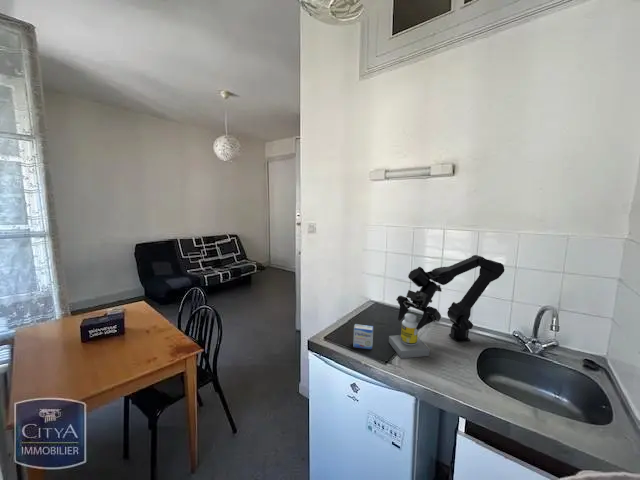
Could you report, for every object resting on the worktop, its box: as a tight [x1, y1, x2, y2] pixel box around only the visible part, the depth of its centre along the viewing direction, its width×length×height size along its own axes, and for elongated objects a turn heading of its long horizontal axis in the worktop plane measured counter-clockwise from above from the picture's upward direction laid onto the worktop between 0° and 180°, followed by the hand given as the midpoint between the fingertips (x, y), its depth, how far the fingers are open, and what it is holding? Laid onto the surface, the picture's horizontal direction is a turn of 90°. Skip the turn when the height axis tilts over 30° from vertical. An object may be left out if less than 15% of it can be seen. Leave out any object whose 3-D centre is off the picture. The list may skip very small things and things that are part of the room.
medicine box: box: [352, 323, 374, 350], centre depth 118 cm, size 8×4×9 cm, turn 76°
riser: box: [388, 334, 431, 359], centre depth 116 cm, size 12×12×3 cm
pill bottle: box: [400, 312, 419, 345], centre depth 115 cm, size 6×6×12 cm
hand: (407, 324), depth 114 cm, fingers open, 9 cm apart
